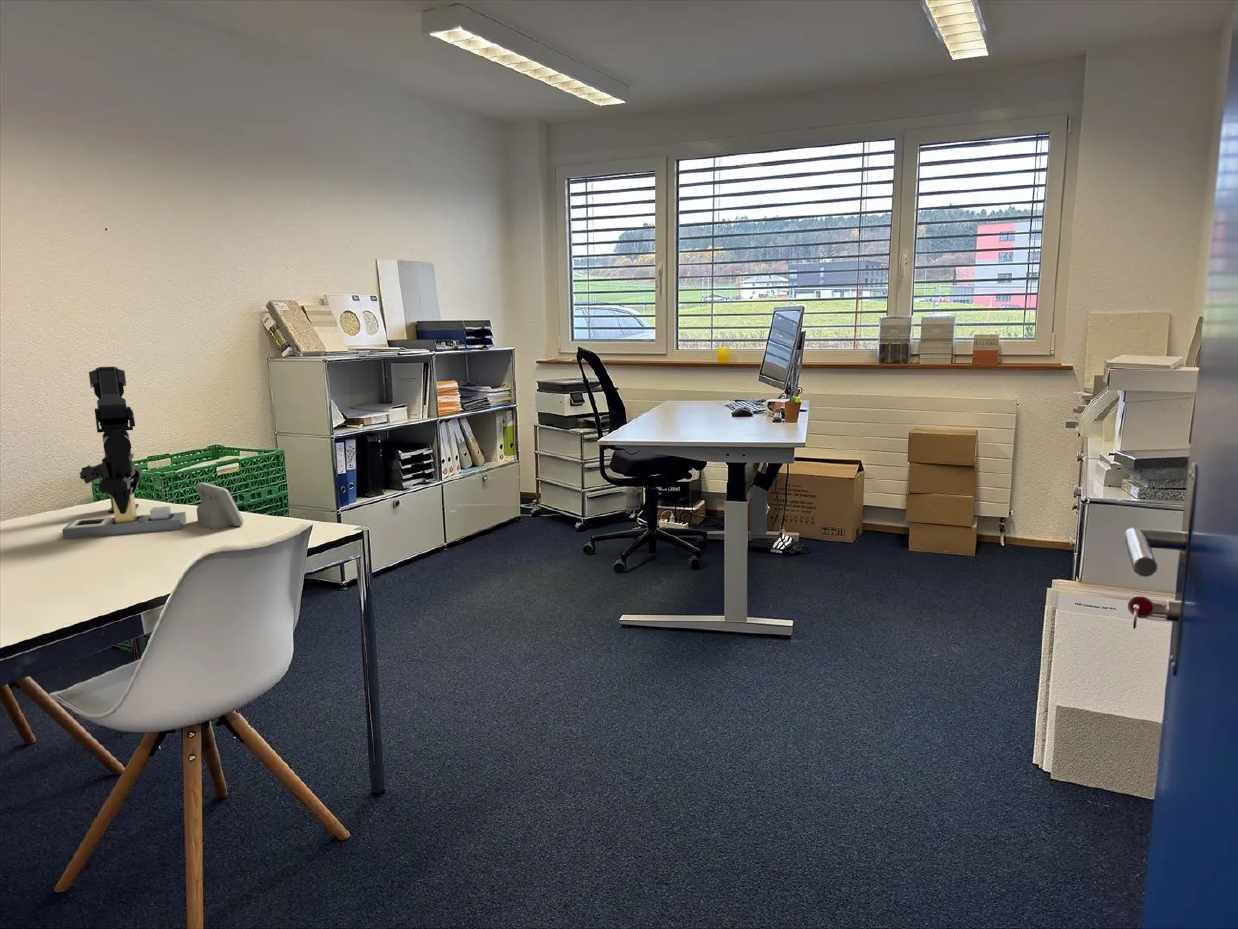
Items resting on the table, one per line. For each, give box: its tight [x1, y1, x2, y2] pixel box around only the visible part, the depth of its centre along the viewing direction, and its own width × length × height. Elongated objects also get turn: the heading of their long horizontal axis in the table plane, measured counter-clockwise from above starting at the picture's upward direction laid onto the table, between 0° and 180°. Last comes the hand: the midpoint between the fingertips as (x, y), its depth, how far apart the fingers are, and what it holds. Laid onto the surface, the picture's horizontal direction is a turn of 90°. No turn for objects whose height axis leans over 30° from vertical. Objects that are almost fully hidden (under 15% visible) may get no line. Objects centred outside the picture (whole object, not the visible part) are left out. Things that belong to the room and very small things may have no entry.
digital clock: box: [194, 481, 244, 530], centre depth 213 cm, size 16×9×11 cm, turn 39°
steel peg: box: [149, 505, 172, 521], centre depth 211 cm, size 4×4×5 cm
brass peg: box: [112, 493, 138, 524], centre depth 207 cm, size 4×4×8 cm
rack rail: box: [62, 511, 187, 540], centre depth 208 cm, size 9×26×3 cm, turn 110°
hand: (125, 511), depth 207 cm, fingers closed on brass peg, 4 cm apart
